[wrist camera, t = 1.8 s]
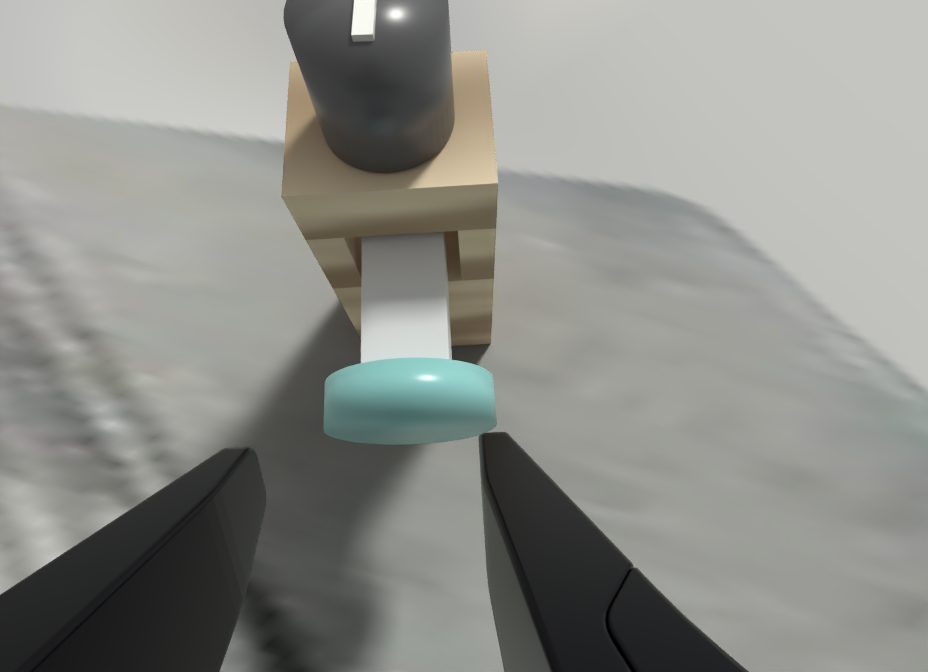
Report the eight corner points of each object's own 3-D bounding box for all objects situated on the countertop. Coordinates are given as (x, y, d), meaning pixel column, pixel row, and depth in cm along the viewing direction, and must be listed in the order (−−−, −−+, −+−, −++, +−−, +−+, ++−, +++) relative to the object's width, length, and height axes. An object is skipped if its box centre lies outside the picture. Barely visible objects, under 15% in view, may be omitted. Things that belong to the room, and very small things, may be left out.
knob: (494, 439, 17) (498, 403, 13) (344, 448, 17) (301, 415, 13) (482, 261, 19) (481, 180, 15) (347, 269, 19) (311, 191, 15)
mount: (490, 343, 24) (498, 183, 13) (367, 351, 24) (281, 196, 14) (484, 256, 25) (486, 49, 15) (368, 263, 25) (290, 62, 15)
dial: (455, 171, 14) (447, 59, 11) (316, 175, 14) (272, 65, 11) (454, 66, 15) (448, -59, 12) (327, 70, 15) (290, -54, 12)
